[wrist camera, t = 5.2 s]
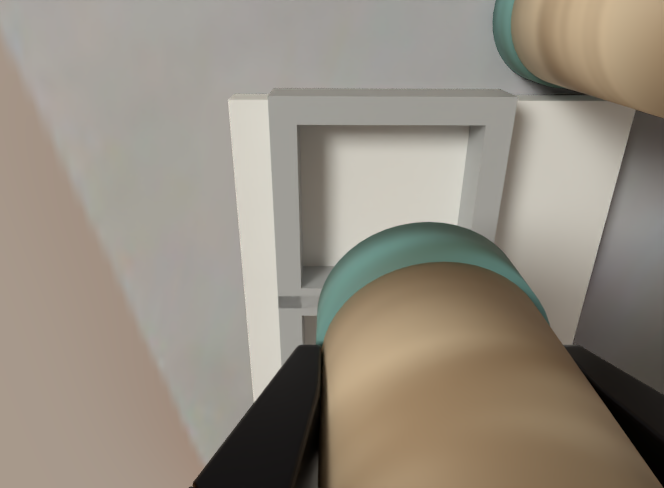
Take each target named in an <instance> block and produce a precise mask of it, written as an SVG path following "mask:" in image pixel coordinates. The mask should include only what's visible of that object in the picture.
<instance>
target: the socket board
mask: <svg viewBox="0 0 664 488" xmlns="http://www.w3.org/2000/svg"><path fill="white" fill-rule="evenodd" d="M228 106H229V118H230V129H231V141H232V153H233V164H234V176H235V188H236V199H237V211H238V223H239V234H240V246H241V258H242V269H243V281H244V293H245V304H246V316H247V328H248V339H249V351H250V363H251V374H252V386H253V398H254V402H255V401H256V399H257V398H258V397H259V396H260V394H261V393H262V392H263V390H264V389H265V388H266V386H267V385H268V384H269V382H270V381H271V380H272V378H273V377H274V376H275V375H276V373H277V372H278V371H279V369H280V368H281V367H282V365H283V364H284V363H285V361H286V360H287V359H288V358H289V356H290V355H291V354H292V352H293V351H294V350H295V348H296V347H297V346H298V345H316V328H317V308H318V301H319V297H320V293H321V290H322V288H323V285H324V282H325V281H326V279H327V277H328V275H329V273H330V272H331V270H332V269H333V268H334V266H335V265H336V264H337V262H338V261H339V260H340V259H341V258H342V257H343V256H344V255H345V254H346V253H347V252H348V251H349V250H351V249H352V248H353V247H354V246H356V245H357V244H358V243H360V242H361V241H363V240H365V239H367V238H368V237H370V236H372V235H374V234H376V233H378V232H381V231H383V230H385V229H389V228H392V227H395V226H398V225H404V224H409V223H416V222H440V223H447V224H453V225H458V226H461V227H464V228H467V229H470V230H472V231H474V232H476V233H478V234H480V235H483V236H484V237H486V238H487V239H489V240H490V241H492V242H493V243H494V244H495V245H496V246H498V247H499V248H500V249H501V250H502V251H503V252H504V253H505V255H506V256H507V257H508V258H509V260H510V261H511V262H512V264H513V265H514V266H515V268H516V269H517V270H518V272H519V273H520V275H521V276H522V277H523V279H524V280H525V281H526V283H527V284H528V286H529V287H530V288H531V290H532V291H533V292H534V294H535V295H536V297H537V298H538V299H539V301H540V303H541V304H542V306H543V308H544V310H545V312H546V315H547V318H548V320H549V323H550V327H551V329H552V330H553V331H554V333H555V334H556V336H557V337H558V338H559V340H560V341H561V343H562V344H563V345H572V344H573V340H574V336H575V332H576V329H577V325H578V321H579V318H580V314H581V310H582V307H583V303H584V299H585V295H586V292H587V288H588V284H589V281H590V277H591V273H592V270H593V266H594V262H595V258H596V255H597V251H598V247H599V244H600V240H601V236H602V233H603V229H604V225H605V222H606V218H607V214H608V210H609V207H610V203H611V199H612V196H613V192H614V188H615V185H616V181H617V177H618V173H619V170H620V166H621V162H622V159H623V155H624V151H625V148H626V144H627V140H628V137H629V133H630V129H631V125H632V122H633V118H634V114H635V111H636V110H635V109H632V108H629V107H626V106H622V105H619V104H616V103H613V102H609V101H606V100H603V99H600V98H597V97H593V96H590V95H512V94H510V93H508V92H505V91H503V90H501V89H343V88H273V90H272V91H271V92H270V94H234V95H233V96H232V97H230V98H229V99H228Z"/></svg>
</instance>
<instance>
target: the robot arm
mask: <svg viewBox="0 0 664 488" xmlns="http://www.w3.org/2000/svg"><path fill="white" fill-rule="evenodd" d="M563 346H564V347H565V348H566V350H567V351H568V353H569V354H570V356H571V357H572V358H573V360H574V361H575V363H576V364H577V366H578V367H579V368H580V370H581V371H582V373H583V374H584V375H585V377H586V378H587V380H588V381H589V383H590V384H591V385H592V387H593V388H594V390H595V391H596V393H597V394H598V395H599V397H600V398H601V400H602V401H603V403H604V404H605V405H606V407H607V408H608V410H609V411H610V412H611V414H612V415H613V417H614V418H615V420H616V421H617V422H618V424H619V425H620V427H621V428H622V430H623V431H624V432H625V434H626V435H627V437H628V438H629V440H630V441H631V442H632V444H633V445H634V447H635V448H636V450H637V451H638V452H639V454H640V455H641V457H642V458H643V459H644V461H645V462H646V464H647V465H648V467H649V468H650V469H651V471H652V472H653V474H654V475H655V477H656V478H657V479H658V481H659V482H660V484H661V485H662V487H663V488H664V395H663V394H661V393H659V392H658V391H656V390H654V389H652V388H651V387H649V386H647V385H646V384H644V383H642V382H641V381H639V380H637V379H635V378H634V377H632V376H630V375H629V374H627V373H625V372H624V371H622V370H620V369H618V368H617V367H615V366H613V365H612V364H610V363H608V362H606V361H605V360H603V359H601V358H600V357H598V356H596V355H595V354H593V353H591V352H589V351H588V350H586V349H584V348H583V347H581V346H579V345H563ZM321 371H322V347H321V346H320V345H298V346H297V347H296V348H295V350H294V351H293V352H292V354H291V355H290V356H289V358H288V359H287V360H286V361H285V363H284V364H283V365H282V367H281V368H280V369H279V371H278V372H277V373H276V375H275V376H274V377H273V378H272V380H271V381H270V382H269V384H268V385H267V386H266V388H265V389H264V390H263V392H262V393H261V394H260V396H259V397H258V398H257V399H256V401H255V402H254V403H253V405H252V406H251V407H250V409H249V410H248V411H247V413H246V414H245V415H244V416H243V418H242V419H241V420H240V422H239V423H238V424H237V426H236V427H235V428H234V430H233V431H232V432H231V434H230V435H229V436H228V437H227V439H226V440H225V441H224V443H223V444H222V445H221V447H220V448H219V449H218V451H217V452H216V453H215V454H214V456H213V457H212V458H211V460H210V461H209V462H208V464H207V465H206V466H205V468H204V469H203V470H202V472H201V473H200V474H199V475H198V477H197V478H196V479H195V481H194V482H193V487H189V488H318V451H319V427H320V410H321Z"/></svg>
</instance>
